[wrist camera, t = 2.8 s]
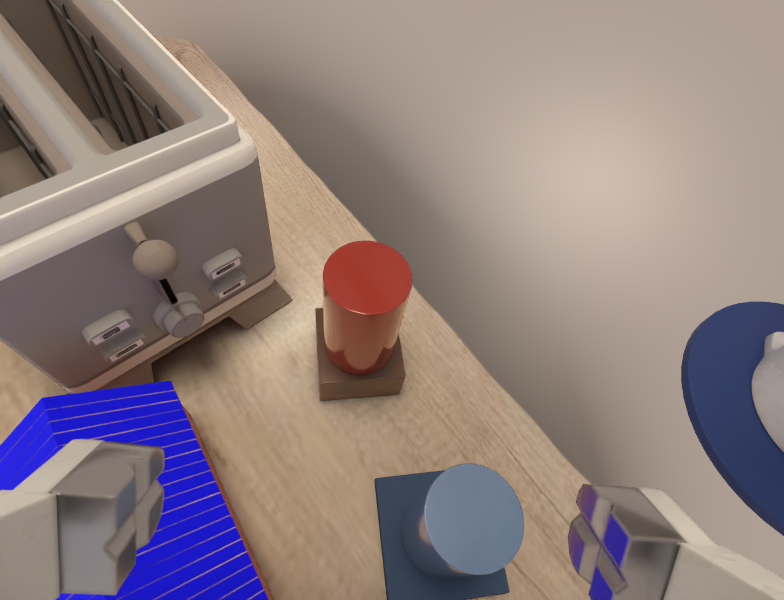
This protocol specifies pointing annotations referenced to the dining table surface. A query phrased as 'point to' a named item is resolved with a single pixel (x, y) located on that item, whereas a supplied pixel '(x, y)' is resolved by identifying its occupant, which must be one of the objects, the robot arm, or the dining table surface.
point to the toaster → (119, 199)
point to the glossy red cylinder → (363, 305)
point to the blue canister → (463, 524)
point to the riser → (357, 385)
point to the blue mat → (403, 580)
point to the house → (179, 479)
